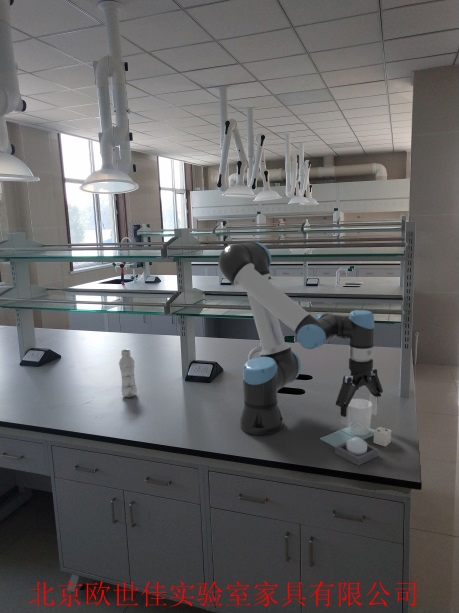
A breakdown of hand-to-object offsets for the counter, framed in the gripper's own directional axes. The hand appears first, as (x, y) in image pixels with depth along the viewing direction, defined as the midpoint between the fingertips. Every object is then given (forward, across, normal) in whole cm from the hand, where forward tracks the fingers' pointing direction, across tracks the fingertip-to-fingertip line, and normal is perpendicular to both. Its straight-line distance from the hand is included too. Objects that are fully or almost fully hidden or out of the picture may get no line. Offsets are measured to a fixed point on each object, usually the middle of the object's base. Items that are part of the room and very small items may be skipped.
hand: (359, 419), depth 148 cm
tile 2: (+4, 0, 0) cm, 4 cm away
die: (+4, 0, -9) cm, 10 cm away
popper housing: (+4, -12, -9) cm, 16 cm away
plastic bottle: (+5, -50, +80) cm, 94 cm away
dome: (+4, -12, -9) cm, 16 cm away
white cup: (+4, 0, 0) cm, 4 cm away
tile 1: (+4, -9, 0) cm, 10 cm away
